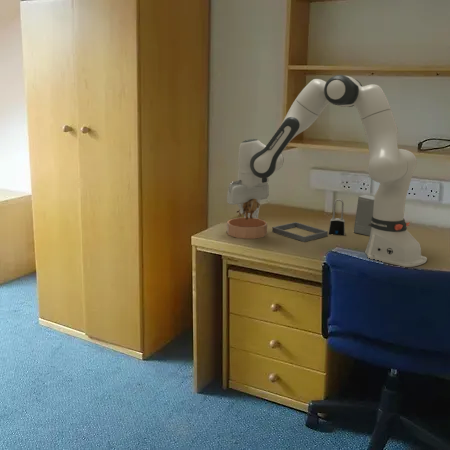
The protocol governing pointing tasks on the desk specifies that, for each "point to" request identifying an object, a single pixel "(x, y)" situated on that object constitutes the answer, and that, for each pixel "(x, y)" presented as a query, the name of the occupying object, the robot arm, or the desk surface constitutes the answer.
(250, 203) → the lion figurine
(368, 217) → the skincare box
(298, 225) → the tray
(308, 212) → the desk surface
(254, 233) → the bowl
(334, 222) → the padlock
